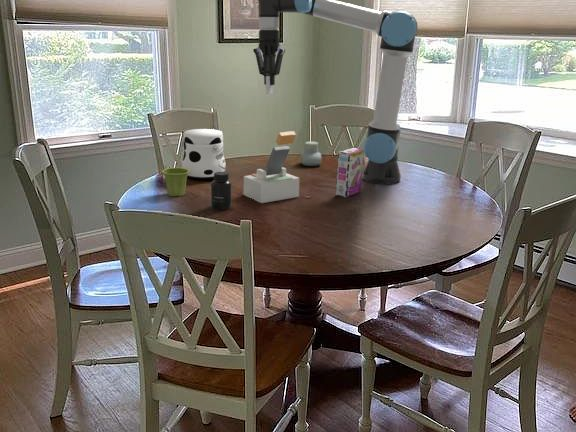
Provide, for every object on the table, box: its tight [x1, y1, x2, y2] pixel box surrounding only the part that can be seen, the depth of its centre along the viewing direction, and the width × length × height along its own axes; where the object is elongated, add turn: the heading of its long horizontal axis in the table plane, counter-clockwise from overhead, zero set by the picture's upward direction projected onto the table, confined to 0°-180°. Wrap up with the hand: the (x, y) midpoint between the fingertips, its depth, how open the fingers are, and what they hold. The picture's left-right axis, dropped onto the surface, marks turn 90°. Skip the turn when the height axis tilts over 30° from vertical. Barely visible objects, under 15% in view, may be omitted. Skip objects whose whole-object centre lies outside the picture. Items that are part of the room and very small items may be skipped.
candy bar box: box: [335, 147, 365, 198], centre depth 217 cm, size 11×5×16 cm, turn 145°
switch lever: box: [264, 130, 297, 175], centre depth 206 cm, size 2×6×19 cm
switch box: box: [243, 167, 300, 204], centre depth 213 cm, size 12×16×10 cm
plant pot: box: [162, 167, 189, 197], centre depth 213 cm, size 9×9×9 cm
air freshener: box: [300, 141, 322, 167], centre depth 262 cm, size 11×8×10 cm
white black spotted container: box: [181, 128, 226, 180], centre depth 236 cm, size 17×17×18 cm
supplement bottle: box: [210, 171, 232, 211], centre depth 198 cm, size 7×7×12 cm
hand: (269, 93), depth 228 cm, fingers closed
